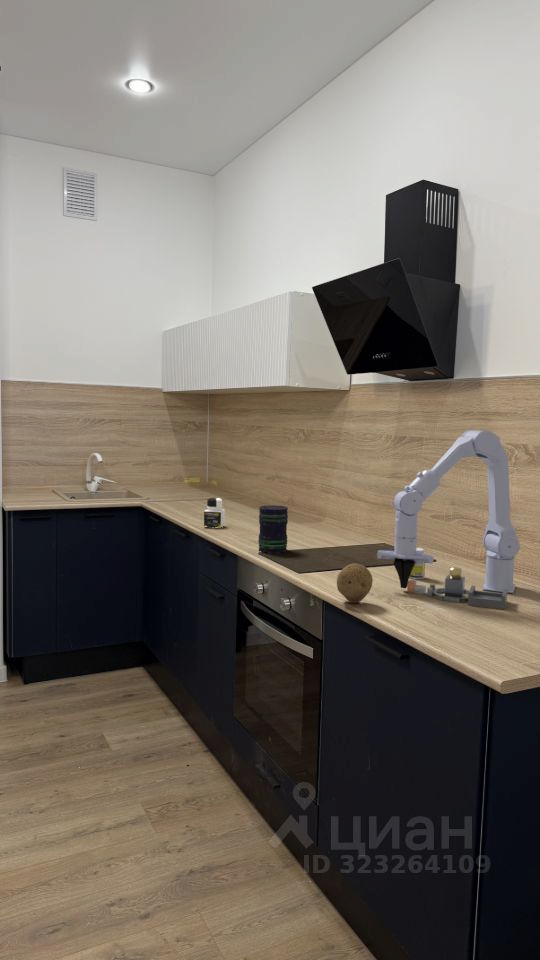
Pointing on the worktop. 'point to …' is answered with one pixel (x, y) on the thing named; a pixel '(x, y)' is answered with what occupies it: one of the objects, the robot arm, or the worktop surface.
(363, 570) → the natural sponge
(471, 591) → the rack
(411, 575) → the supplement bottle
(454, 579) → the gold-capped square jar
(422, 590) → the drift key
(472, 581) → the worktop surface
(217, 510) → the medicine bottle
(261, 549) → the storage jar
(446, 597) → the socket
